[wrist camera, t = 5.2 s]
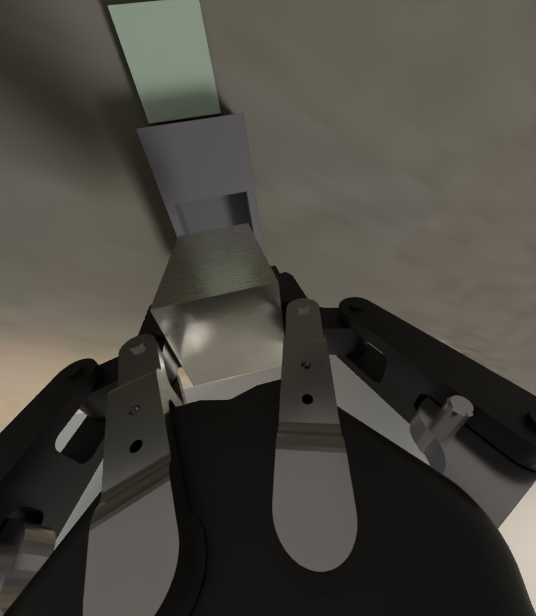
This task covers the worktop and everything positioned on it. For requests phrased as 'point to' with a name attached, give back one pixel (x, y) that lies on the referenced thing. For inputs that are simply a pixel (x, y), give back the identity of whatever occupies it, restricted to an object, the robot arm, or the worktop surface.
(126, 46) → the mat
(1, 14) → the worktop surface
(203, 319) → the beige rectangular block
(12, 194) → the worktop surface
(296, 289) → the robot arm
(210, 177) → the grey holder tray
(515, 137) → the worktop surface
